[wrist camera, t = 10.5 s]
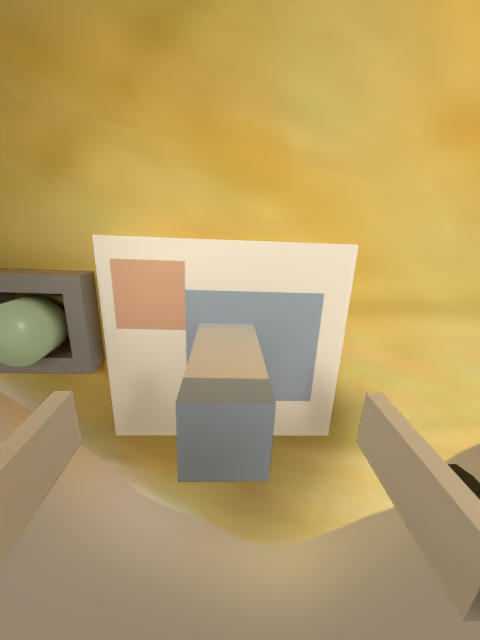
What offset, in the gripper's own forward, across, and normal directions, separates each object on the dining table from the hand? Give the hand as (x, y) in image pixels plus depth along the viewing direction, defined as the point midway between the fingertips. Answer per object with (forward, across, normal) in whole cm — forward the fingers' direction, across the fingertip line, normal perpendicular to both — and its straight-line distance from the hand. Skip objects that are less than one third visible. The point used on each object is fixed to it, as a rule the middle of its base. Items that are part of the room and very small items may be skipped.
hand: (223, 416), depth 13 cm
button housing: (+10, -13, +1) cm, 16 cm away
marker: (+9, 0, -1) cm, 9 cm away
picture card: (+9, 0, -1) cm, 9 cm away
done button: (+8, -13, +1) cm, 15 cm away
